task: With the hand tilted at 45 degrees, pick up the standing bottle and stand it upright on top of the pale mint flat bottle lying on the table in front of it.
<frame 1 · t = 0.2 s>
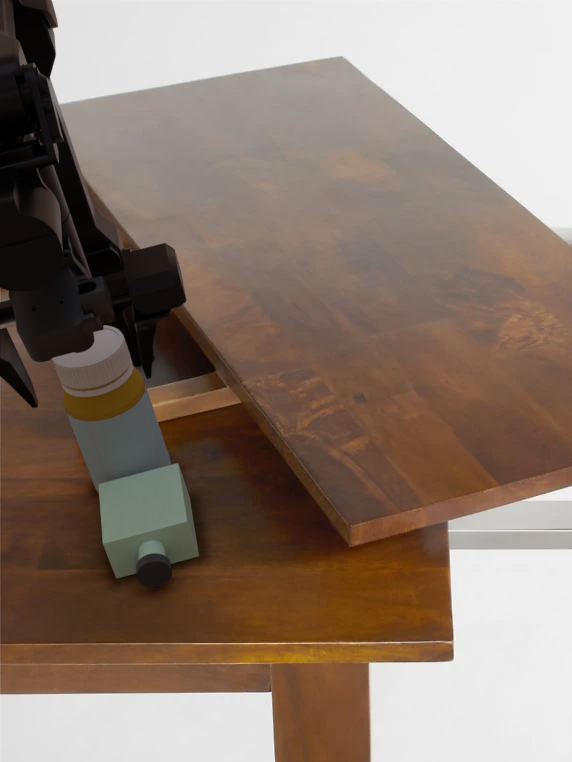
hand: (92, 390, 111), 14 cm above the table, tool pointing down, fingers open, 9 cm apart
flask: (154, 537, 118), on the table
bottle: (136, 483, 124), on the table
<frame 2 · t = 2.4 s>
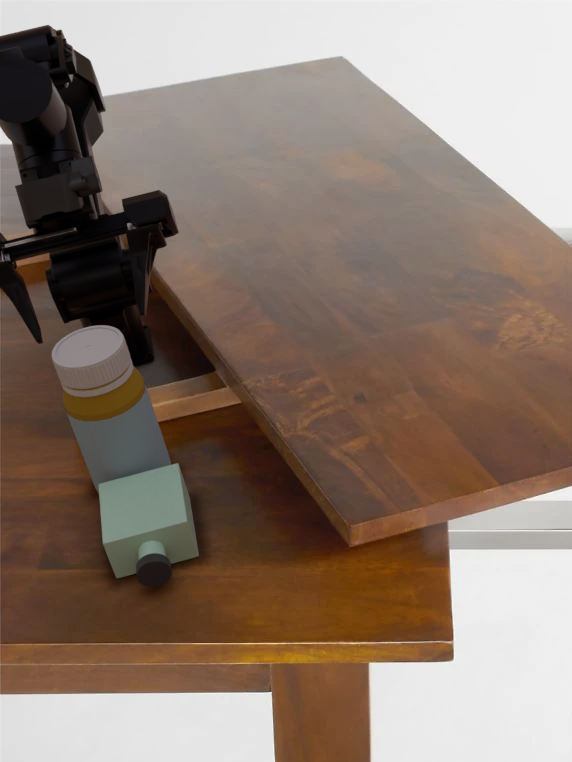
hand: (91, 329, 121), 13 cm above the table, tool tilted 45°, fingers open, 9 cm apart
nothing on the table moved.
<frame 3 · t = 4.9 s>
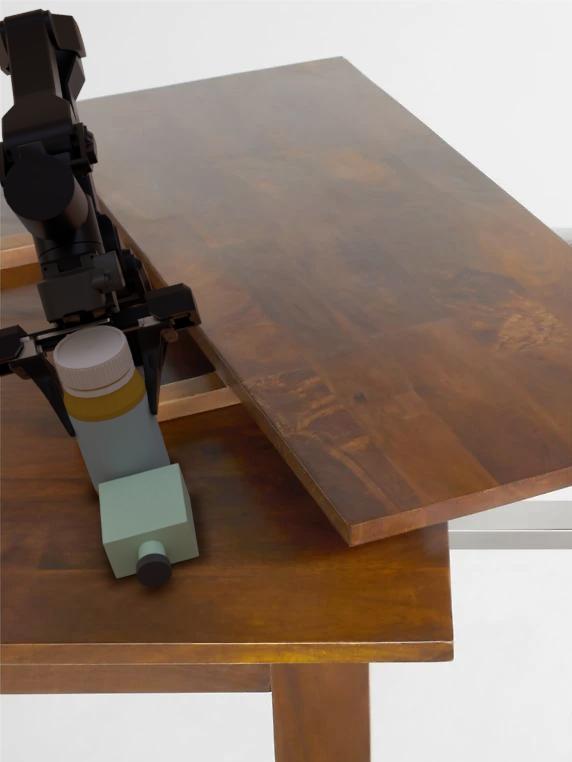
hand: (113, 425, 118), 8 cm above the table, tool tilted 45°, fingers closed on bottle, 7 cm apart
bottle: (135, 483, 124), on the table, touching gripper
everything else where it was.
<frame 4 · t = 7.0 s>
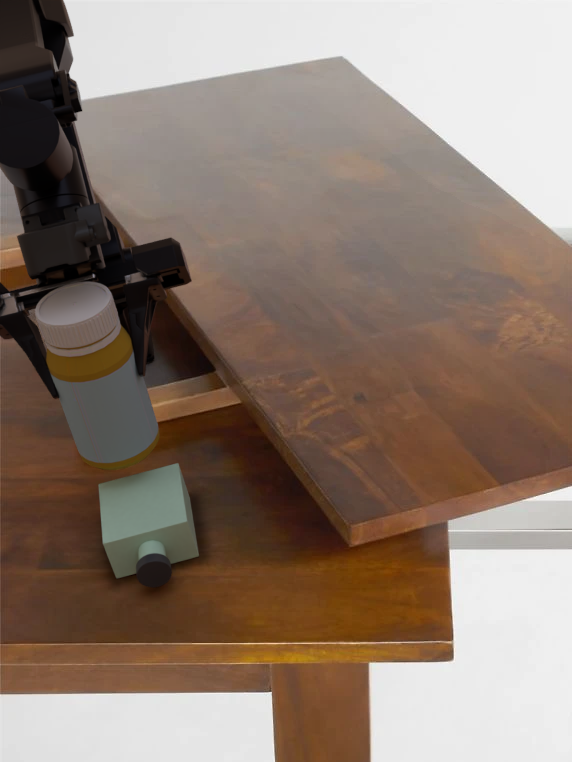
hand: (98, 386, 113), 13 cm above the table, tool tilted 45°, fingers closed on bottle, 7 cm apart
bottle: (122, 449, 119), point 6 cm above the table, touching gripper
everything else where it was.
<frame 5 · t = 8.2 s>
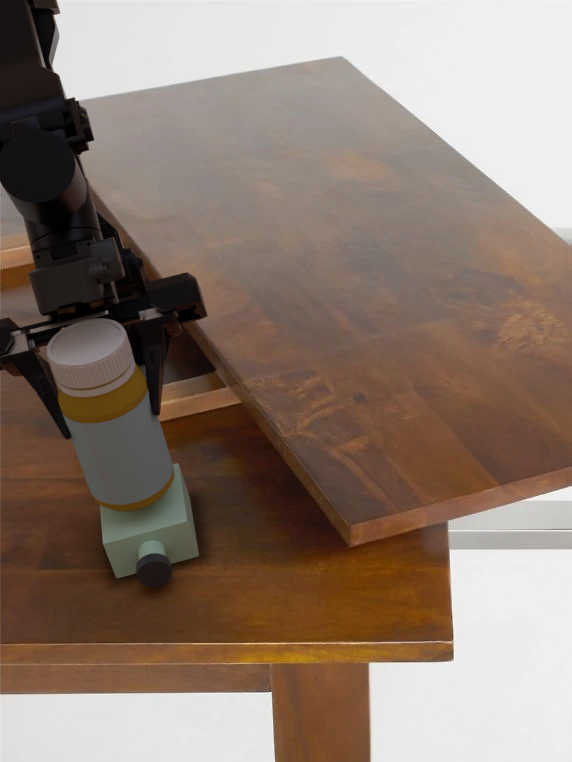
hand: (112, 426, 109), 13 cm above the table, tool tilted 45°, fingers closed on bottle, 7 cm apart
bottle: (135, 488, 115), point 5 cm above the table, touching gripper
everything else where it was.
when the fingers open (12 cm above the table, at t = 9.2 s): bottle stays where it is, resting on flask.
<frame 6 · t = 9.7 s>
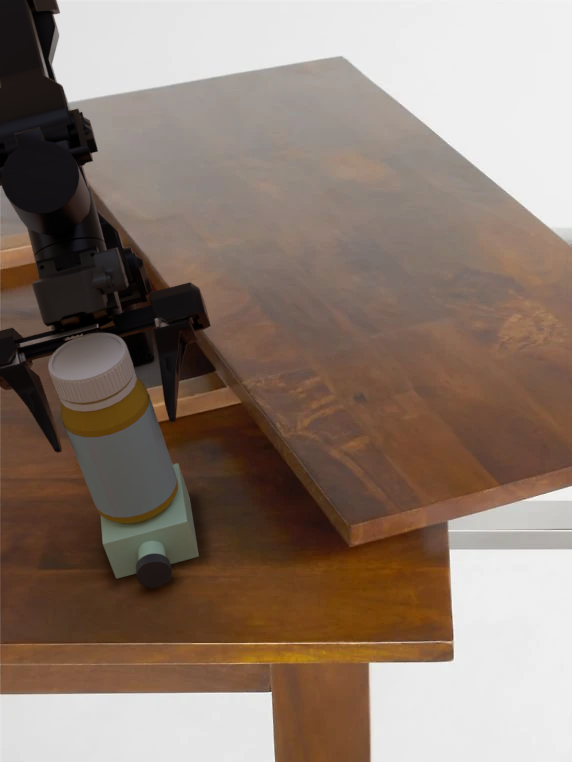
hand: (115, 436, 109), 12 cm above the table, tool tilted 45°, fingers open, 9 cm apart
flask: (154, 537, 118), on the table, touching bottle
bottle: (139, 501, 116), point 4 cm above the table, touching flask, gripper
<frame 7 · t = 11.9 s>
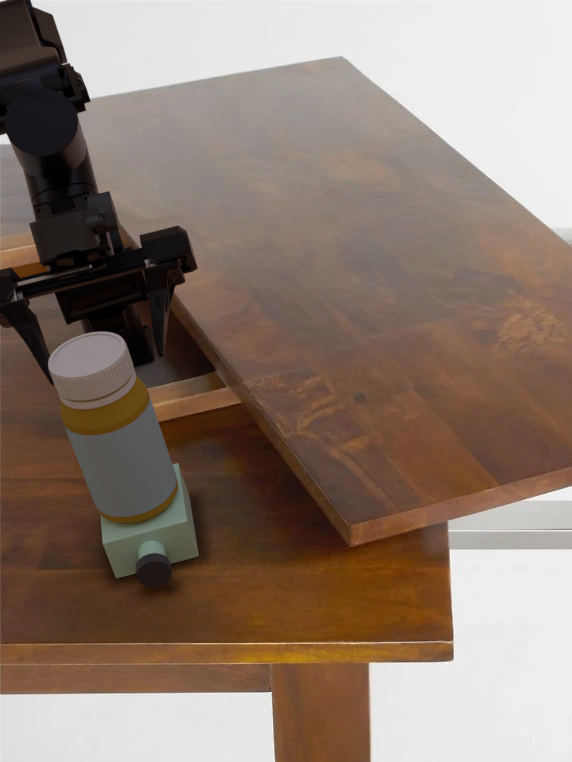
hand: (108, 370, 116), 13 cm above the table, tool tilted 45°, fingers open, 9 cm apart
bottle: (139, 501, 116), point 4 cm above the table, touching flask
everything else where it was.
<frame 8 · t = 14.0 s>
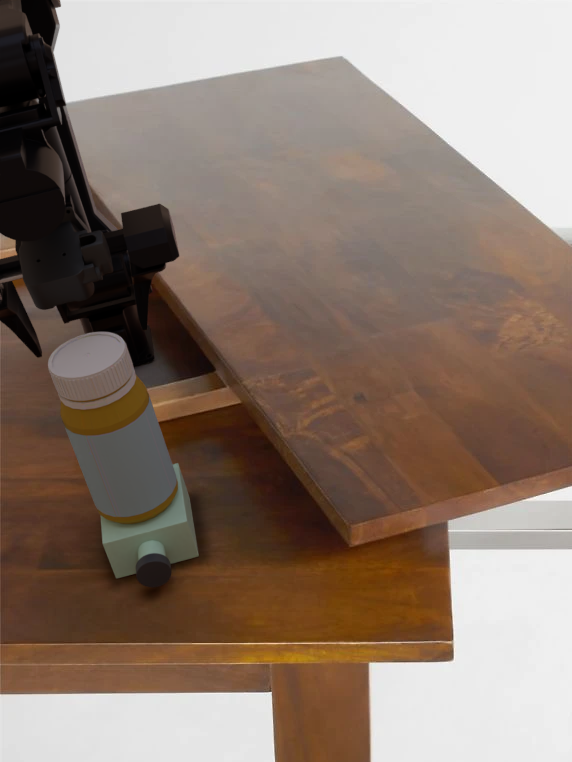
hand: (92, 341, 119), 13 cm above the table, tool pointing down, fingers open, 9 cm apart
nothing on the table moved.
at the end: bottle inside the target area on the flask (0.4 cm from its centre), point 3.8 cm above the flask's base; bottle tilted 0°; the gripper is holding nothing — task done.
